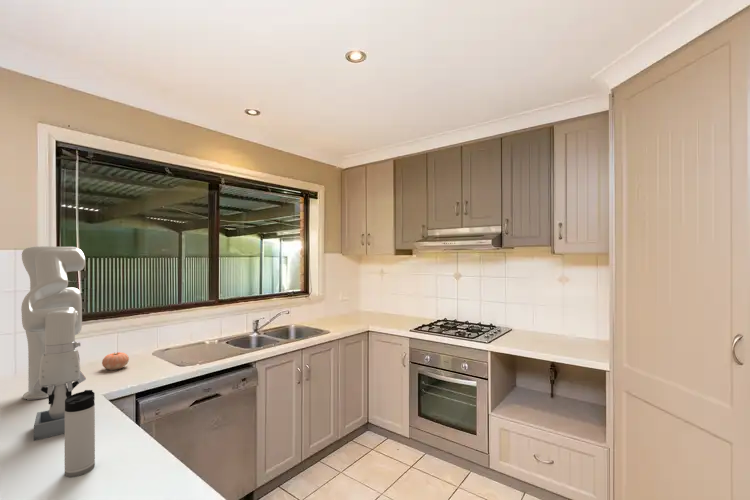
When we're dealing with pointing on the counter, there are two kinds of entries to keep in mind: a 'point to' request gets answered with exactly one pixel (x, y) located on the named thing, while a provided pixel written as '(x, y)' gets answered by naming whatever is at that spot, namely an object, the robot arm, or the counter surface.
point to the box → (47, 426)
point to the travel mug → (79, 433)
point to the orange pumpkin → (115, 361)
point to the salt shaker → (58, 401)
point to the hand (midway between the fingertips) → (60, 403)
